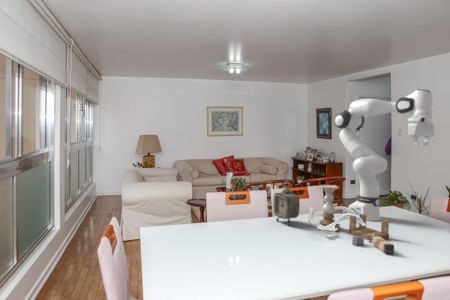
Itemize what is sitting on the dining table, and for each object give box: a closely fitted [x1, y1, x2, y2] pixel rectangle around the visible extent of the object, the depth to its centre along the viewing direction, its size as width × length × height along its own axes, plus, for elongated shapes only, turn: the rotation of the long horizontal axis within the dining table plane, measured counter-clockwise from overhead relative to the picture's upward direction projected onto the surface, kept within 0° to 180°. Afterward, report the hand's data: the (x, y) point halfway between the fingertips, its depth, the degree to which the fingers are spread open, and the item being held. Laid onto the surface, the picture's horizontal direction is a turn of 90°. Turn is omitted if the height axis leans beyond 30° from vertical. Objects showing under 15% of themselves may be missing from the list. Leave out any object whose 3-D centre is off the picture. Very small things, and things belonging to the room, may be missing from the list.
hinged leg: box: [369, 236, 395, 255], centre depth 152 cm, size 15×4×4 cm, turn 1°
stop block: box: [351, 236, 365, 247], centre depth 157 cm, size 2×5×4 cm, turn 121°
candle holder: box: [319, 184, 341, 229], centre depth 183 cm, size 11×11×24 cm
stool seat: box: [347, 214, 390, 241], centre depth 170 cm, size 16×11×9 cm
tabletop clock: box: [273, 180, 300, 226], centre depth 193 cm, size 14×9×25 cm, turn 25°
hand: (421, 145), depth 177 cm, fingers open, 8 cm apart
